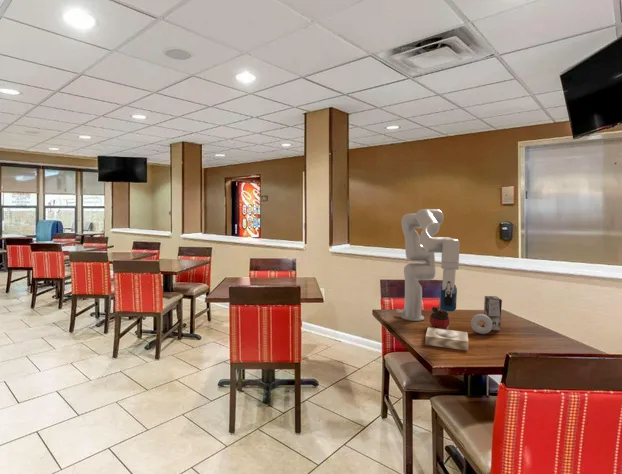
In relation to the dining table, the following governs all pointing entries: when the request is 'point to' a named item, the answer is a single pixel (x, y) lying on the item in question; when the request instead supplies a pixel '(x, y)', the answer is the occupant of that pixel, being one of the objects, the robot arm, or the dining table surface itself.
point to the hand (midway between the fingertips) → (448, 303)
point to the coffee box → (493, 310)
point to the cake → (439, 318)
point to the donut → (477, 328)
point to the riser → (447, 338)
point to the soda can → (454, 297)
